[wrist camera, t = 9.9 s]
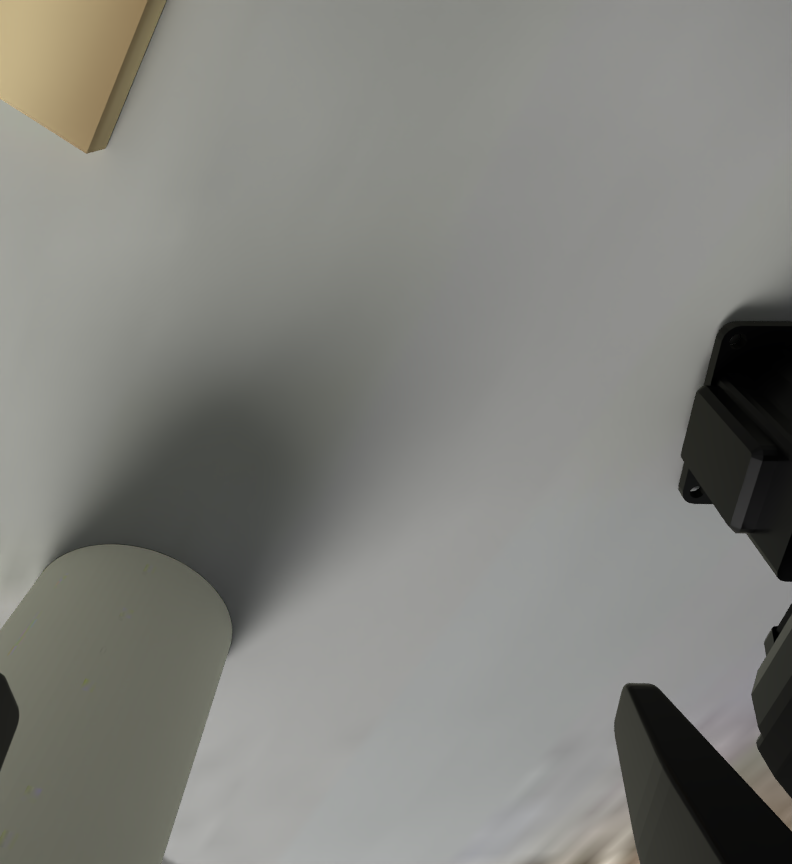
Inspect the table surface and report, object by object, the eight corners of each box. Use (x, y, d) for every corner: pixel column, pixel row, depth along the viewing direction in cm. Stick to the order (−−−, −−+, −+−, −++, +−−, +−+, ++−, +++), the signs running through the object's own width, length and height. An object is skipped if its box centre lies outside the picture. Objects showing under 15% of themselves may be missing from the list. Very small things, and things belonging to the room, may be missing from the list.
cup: (2, 549, 25) (-289, 892, 15) (207, 538, 25) (55, 886, 14) (71, 691, 29) (-120, 1040, 19) (249, 684, 29) (155, 1039, 18)
